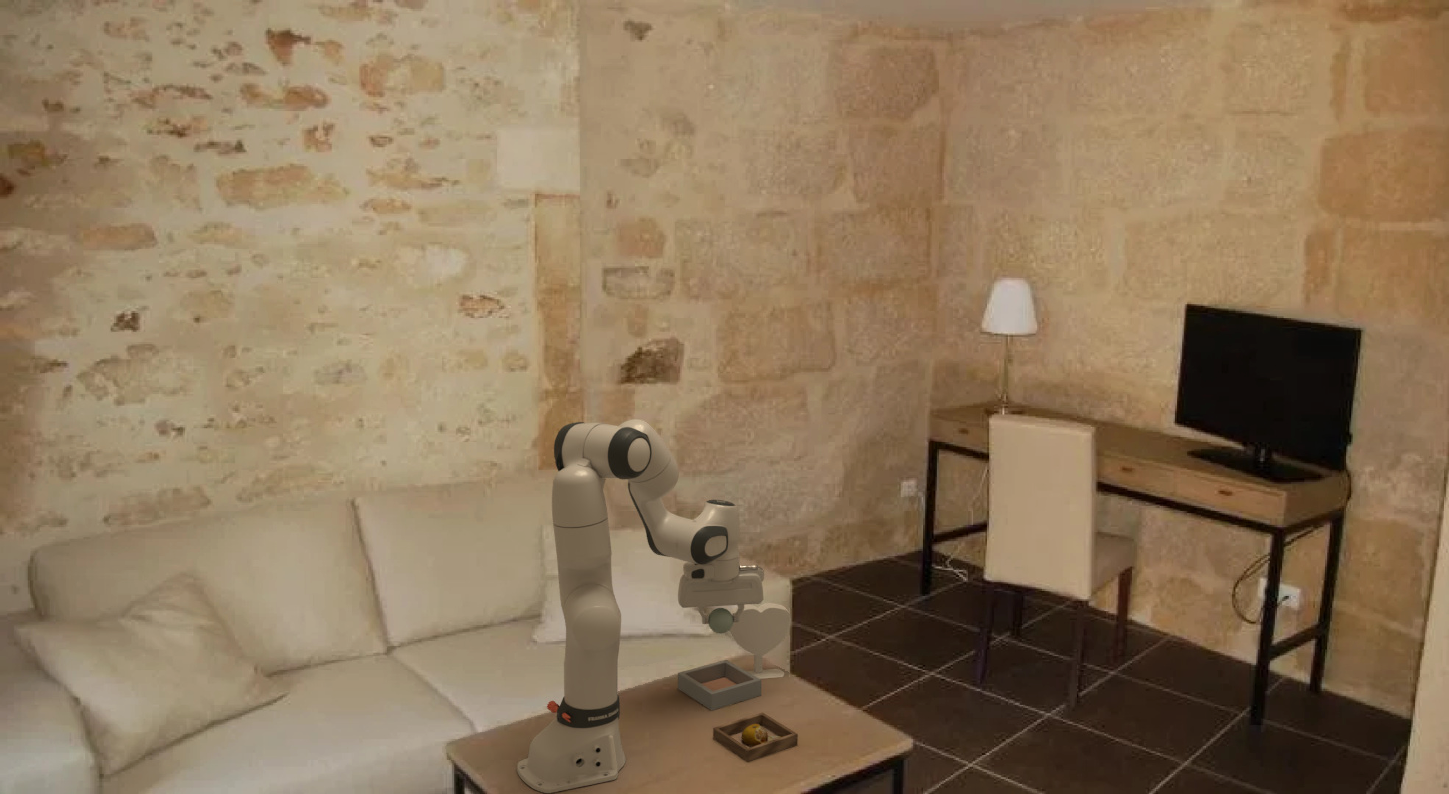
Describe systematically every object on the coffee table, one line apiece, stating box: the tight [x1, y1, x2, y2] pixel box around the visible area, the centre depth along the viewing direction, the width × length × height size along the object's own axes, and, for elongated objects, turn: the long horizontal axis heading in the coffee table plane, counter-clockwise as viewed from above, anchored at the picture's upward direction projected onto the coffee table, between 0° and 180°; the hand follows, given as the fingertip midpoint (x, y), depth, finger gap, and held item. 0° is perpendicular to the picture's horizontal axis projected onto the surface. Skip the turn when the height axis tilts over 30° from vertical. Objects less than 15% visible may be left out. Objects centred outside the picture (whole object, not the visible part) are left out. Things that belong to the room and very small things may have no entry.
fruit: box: [740, 724, 781, 747], centre depth 245 cm, size 8×8×4 cm
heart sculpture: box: [728, 602, 792, 680], centre depth 279 cm, size 16×5×18 cm, turn 102°
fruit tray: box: [712, 712, 799, 763], centre depth 245 cm, size 14×13×2 cm
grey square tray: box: [677, 659, 762, 711], centre depth 270 cm, size 14×14×4 cm
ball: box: [708, 607, 733, 634], centre depth 267 cm, size 6×6×6 cm
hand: (720, 622), depth 267 cm, fingers closed on ball, 6 cm apart
